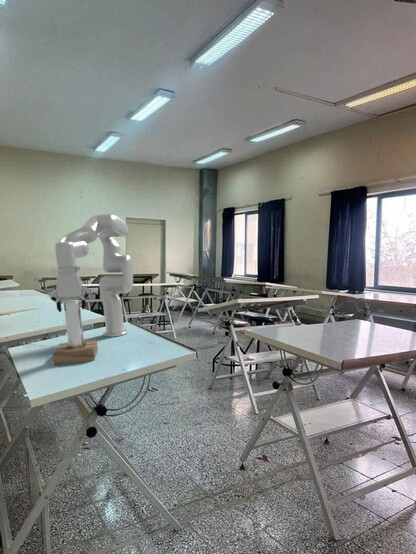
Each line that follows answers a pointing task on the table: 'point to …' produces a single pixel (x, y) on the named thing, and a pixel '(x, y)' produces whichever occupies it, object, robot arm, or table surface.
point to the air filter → (74, 324)
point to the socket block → (75, 353)
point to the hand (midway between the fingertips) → (72, 310)
